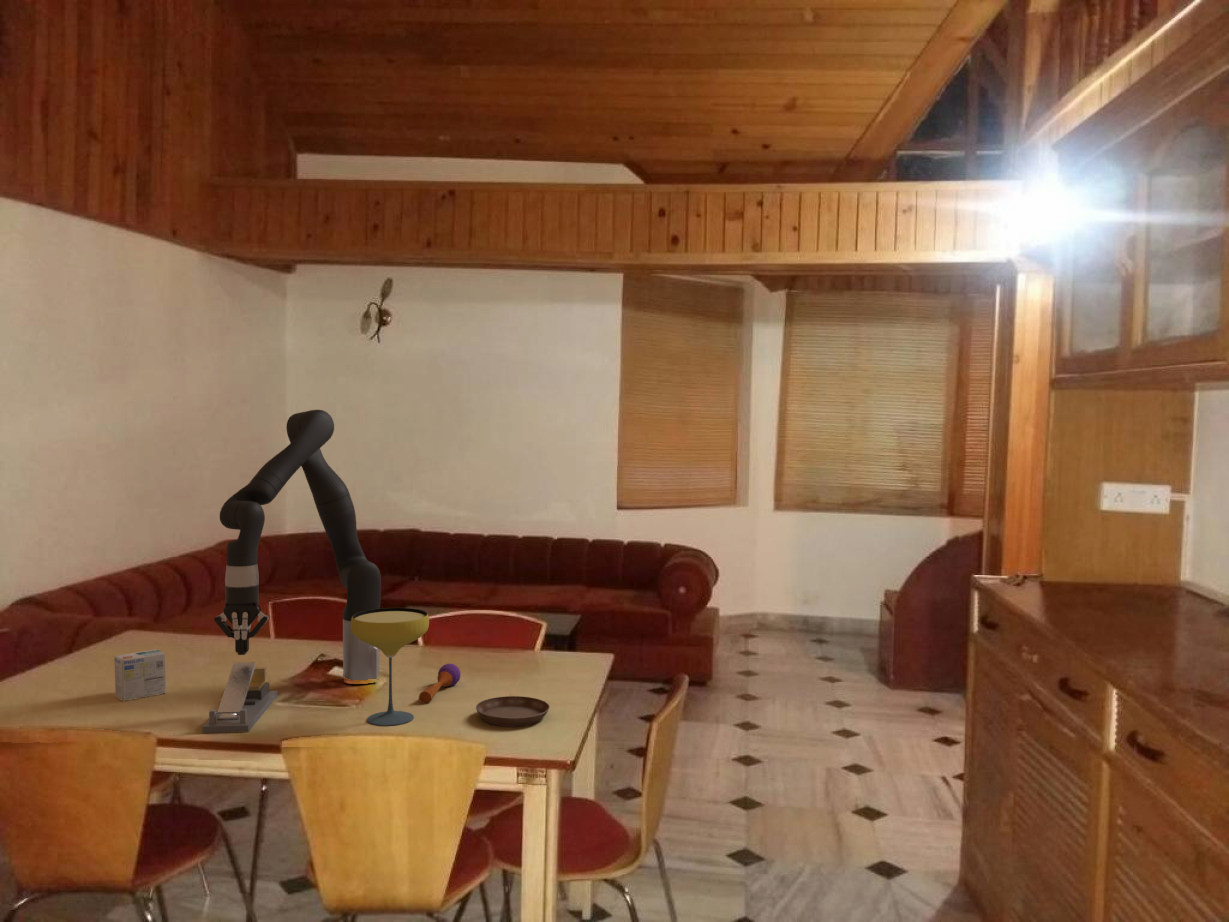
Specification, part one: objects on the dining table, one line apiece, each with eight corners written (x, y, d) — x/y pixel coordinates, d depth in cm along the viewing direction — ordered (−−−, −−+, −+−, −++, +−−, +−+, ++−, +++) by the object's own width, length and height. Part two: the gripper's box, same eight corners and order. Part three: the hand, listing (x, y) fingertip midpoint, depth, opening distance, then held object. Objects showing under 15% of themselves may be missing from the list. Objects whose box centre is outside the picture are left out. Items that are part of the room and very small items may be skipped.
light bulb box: (157, 688, 255) (156, 648, 255) (166, 694, 250) (166, 652, 250) (113, 696, 248) (113, 654, 247) (122, 702, 243) (122, 659, 242)
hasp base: (248, 731, 221) (248, 712, 221) (202, 733, 220) (202, 713, 220) (277, 696, 249) (277, 679, 249) (237, 697, 248) (236, 679, 248)
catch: (259, 690, 241) (259, 674, 240) (238, 690, 240) (238, 674, 240) (266, 682, 247) (266, 667, 247) (245, 683, 247) (245, 667, 247)
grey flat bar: (238, 721, 222) (237, 716, 222) (216, 722, 222) (215, 717, 221) (255, 666, 237) (255, 661, 236) (234, 666, 237) (233, 661, 236)
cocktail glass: (364, 706, 241) (363, 606, 240) (436, 708, 240) (436, 608, 239) (341, 730, 223) (340, 622, 222) (419, 731, 222) (419, 623, 221)
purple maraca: (411, 687, 245) (440, 662, 264) (416, 710, 245) (445, 683, 265) (433, 685, 243) (461, 659, 263) (438, 707, 244) (465, 680, 263)
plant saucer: (550, 707, 243) (550, 695, 243) (548, 730, 225) (548, 717, 225) (479, 707, 242) (479, 695, 242) (471, 730, 224) (471, 717, 224)
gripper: (274, 580, 239) (274, 650, 239) (218, 580, 237) (218, 650, 238) (266, 585, 231) (266, 657, 232) (208, 585, 230) (208, 658, 230)
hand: (242, 654), depth 235 cm, fingers closed
